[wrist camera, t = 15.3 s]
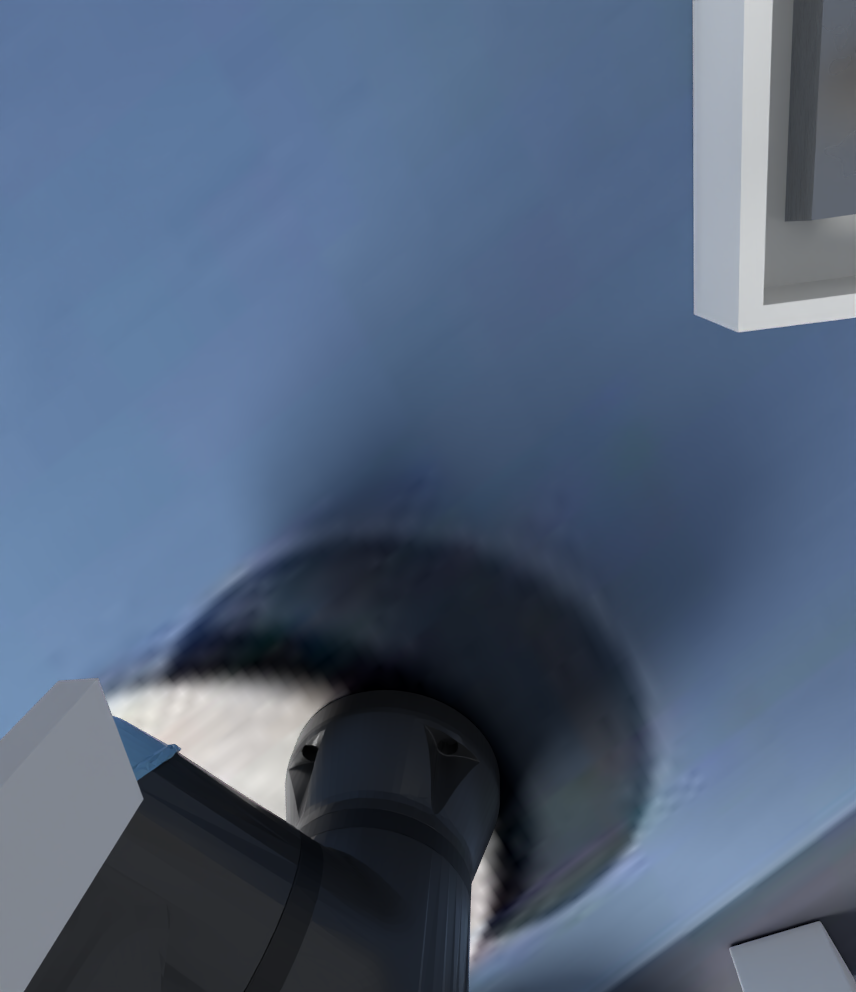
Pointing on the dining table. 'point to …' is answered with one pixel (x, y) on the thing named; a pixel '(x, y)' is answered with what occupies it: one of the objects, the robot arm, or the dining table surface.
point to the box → (756, 181)
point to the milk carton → (792, 962)
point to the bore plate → (822, 111)
